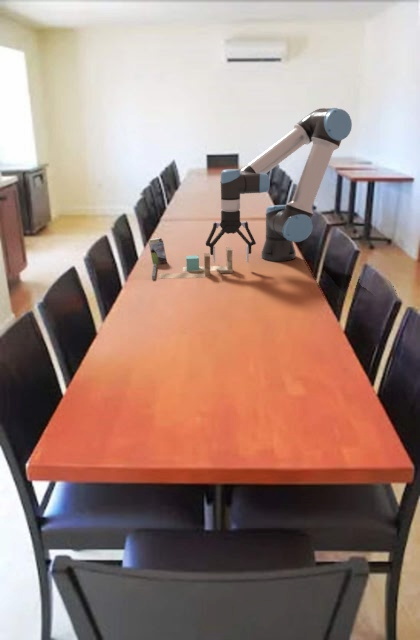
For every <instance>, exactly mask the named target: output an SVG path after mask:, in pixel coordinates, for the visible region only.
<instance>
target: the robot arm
mask: <svg viewBox="0 0 420 640" xmlns="http://www.w3.org/2000/svg"><path fill="white" fill-rule="evenodd" d="M352 124H353V123H352V119H351V116H350V114H349V113H348V112H347V111H346V109H345V110H344V109H342V108H337V107H332V108H325V107H323V108H318V109H315V110H313V111H312V112H310V113H309V114H308V115H306V116H305V117H303V118H302V119H301V120H299V121H298V122H297V123H296V124H294V126H293V129H292V130H290V132H288V133H287V134H285V135H284V136H282V138H281V139H279V140H277V142H275V143H274V144H273V145H271V146H270V147H268V148H267V149H266V150H265V151H263V152H262V153H261V154H259V155H258V156H257V157H256V158H255V159H253V160H252V161H250V162H249V163H248V164H247V165H245V166H244V167H242V168H241V169H237V168H233V169H231V168H228V169H227V168H226V169H223V170H222V171H221V173H220V209H221V212H220V222H216V221H213V223H212V228H211V231H210V233H209V235H208V237H207V239H206V241H205V246H206V247H209V254H210V256H212V259H213V260H212V263H213V264H216V246H215V245H216V244H217V243H218V242H219V241H220V239H221V238H222V237H223V236H224V235H225V234H227V235H228V234H235V233H237V234H238V235H239V237H241V239H242V240H243V241H244V242H245V244H246V245H245V262H246V263H250V262H249V257H250V255H251V254H252V246H254V245H256V244H257V243H256V240H255V239H254V236H253V234H252V232H251V230H250V228H249V222H248V221H246V220H245V221H242V222H241V211H240V209H241V195H245V194H261V193H263V194H264V193H267V192H268V191H269V189H270V186H271V185H270V183H271V181H270V176H269V174H267V173H268V172H270V171H271V170H273V169H274V168H275V167H277V166H278V165H279V164H280V163H281V162H283V161H284V160H286V159H287V158H288V157H289V156H291V155H292V154H293V153H295V152H296V151H298V150H299V149H300V148H301V147H302V146H305V145H310V144H311V143H312V146H311V149H310V151H309V155H308V157H307V159H306V162H305V163H304V164H305V165H304V166H303V167H304V168H303V170H302V172H301V175H300V178H299V181H298V183H297V187H296V188H295V191H294V194H293V196H292V199H291V201H289V202H287V203H286V204H277V205H276V204H275V205H269V206H267V207H266V212H265V240H264V244H263V246H262V250H261V255H260V257H261V259H263V260H265V261H272V262H286V260H288V261H292V260H291V259H293V260H295V259H296V258H295V257H296V255H297V252H296V249H295V246H294V245H295V244H294V243H300V242H302V241H304V240H306V239H308V238H309V237H310V235H311V233H312V232H313V225H314V224H313V221H312V218H313V216H314V211H313V209H312V208H313V205H314V202H315V199H316V197H317V195H318V192H319V190H320V188H321V187H320V186H321V184H322V181H323V179H324V176H325V174H326V172H327V168H328V167H329V164H330V161H331V158H332V155H333V153H334V151H335V150H338V149H339V147H340V146H341V143H342V141H343V140H344V139H346V138H347V137H348V136H349V135H350V133H351V131H352V126H353V125H352ZM241 226H242V227H243V228H245V230H246V232H247V234H248V236H249V238H247V237H246V236H245V235H244V233H243V232H242V231H241V230H240V228H241ZM219 227H220V228H221V229H220V231H219V233H218V234H217V235H216V236H215V238H214V235H215V233H216V230H217V229H218V228H219ZM213 238H214V239H213ZM212 239H213V240H212ZM249 239H250V240H249ZM294 258H295V259H294Z"/></svg>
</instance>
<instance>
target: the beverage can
mask: <svg viewBox="0 0 420 640" xmlns="http://www.w3.org/2000/svg"><path fill="white" fill-rule="evenodd" d="M148 244H149V246H148V247H149V250H150V254H151V260H152V264H153V265H154V263H157V265H158V266H159V265H166V264H167V263H168V260H167V259H168V258H167V254H166V249H165V246H164V245H165V244H164V240H163V239H162V237H160V236H159V237H153V238H150V239H149V241H148Z"/></svg>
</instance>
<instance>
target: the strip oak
mask: <svg viewBox="0 0 420 640" xmlns="http://www.w3.org/2000/svg"><path fill="white" fill-rule="evenodd" d="M203 256H204V261H203V262H204V263H203V264H204V266H205V271H197V272H173V273H171V272H170V273H158V275H159V276H158V279H159V280H160V279H162V280H163V279H164V280H165V279H166V280H167V279H189V278H190V279H193V278H195V279H196V278H199V279H200V278H211V271H210V266H211V254H210V252H206V253H203Z"/></svg>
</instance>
